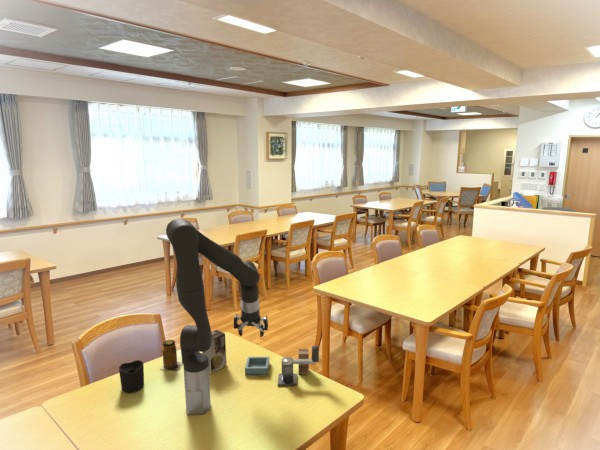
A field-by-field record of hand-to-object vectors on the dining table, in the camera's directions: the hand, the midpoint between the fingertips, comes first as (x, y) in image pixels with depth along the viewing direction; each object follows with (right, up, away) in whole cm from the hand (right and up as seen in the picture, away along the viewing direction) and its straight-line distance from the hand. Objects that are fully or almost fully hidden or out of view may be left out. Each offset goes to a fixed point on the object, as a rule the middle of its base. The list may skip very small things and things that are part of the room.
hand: (251, 335), depth 167 cm
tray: (+1, -19, +12) cm, 22 cm away
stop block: (+22, -19, +10) cm, 31 cm away
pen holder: (-50, -22, -2) cm, 54 cm away
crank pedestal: (+15, -19, +10) cm, 27 cm away
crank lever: (+21, -12, +1) cm, 24 cm away
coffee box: (-19, -19, +14) cm, 30 cm away
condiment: (-39, -19, +15) cm, 45 cm away
